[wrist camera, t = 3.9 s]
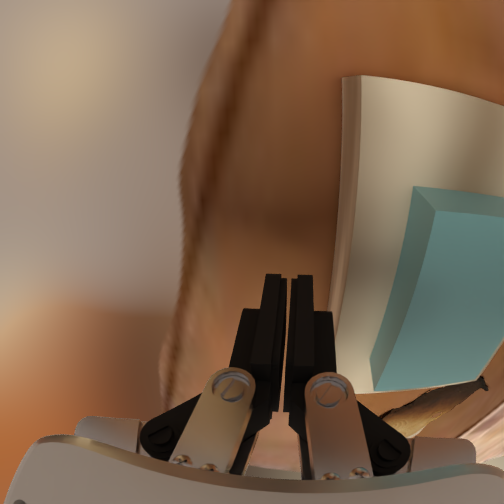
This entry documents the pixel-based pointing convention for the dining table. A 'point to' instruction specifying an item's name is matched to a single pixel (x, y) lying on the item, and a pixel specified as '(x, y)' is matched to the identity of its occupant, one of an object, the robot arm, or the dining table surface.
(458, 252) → the tile
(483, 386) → the parchment
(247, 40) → the dining table surface
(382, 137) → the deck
